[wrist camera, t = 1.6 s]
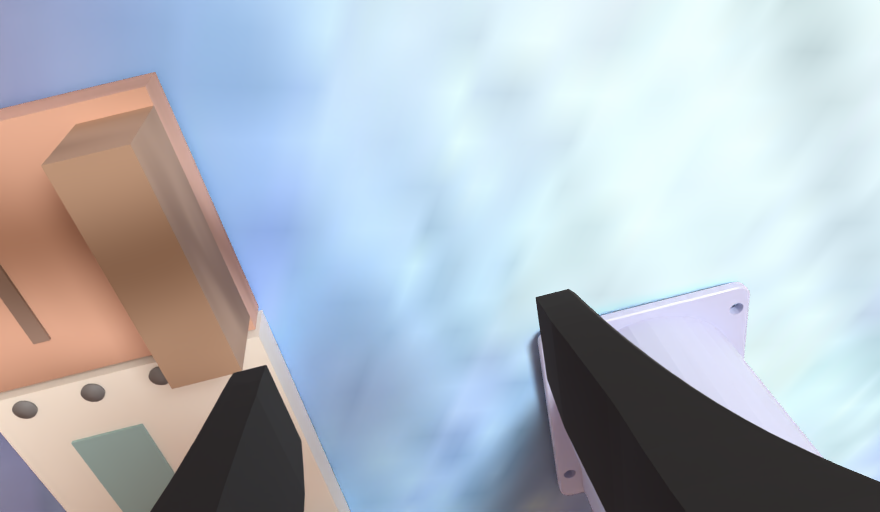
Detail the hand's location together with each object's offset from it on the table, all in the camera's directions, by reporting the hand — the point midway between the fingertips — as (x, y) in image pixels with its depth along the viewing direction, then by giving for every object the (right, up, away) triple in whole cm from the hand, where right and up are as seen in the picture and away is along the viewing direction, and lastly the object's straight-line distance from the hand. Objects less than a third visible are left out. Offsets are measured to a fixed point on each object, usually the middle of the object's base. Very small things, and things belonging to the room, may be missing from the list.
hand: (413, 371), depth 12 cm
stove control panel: (-9, -6, +13) cm, 17 cm away
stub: (-11, +3, +8) cm, 13 cm away
